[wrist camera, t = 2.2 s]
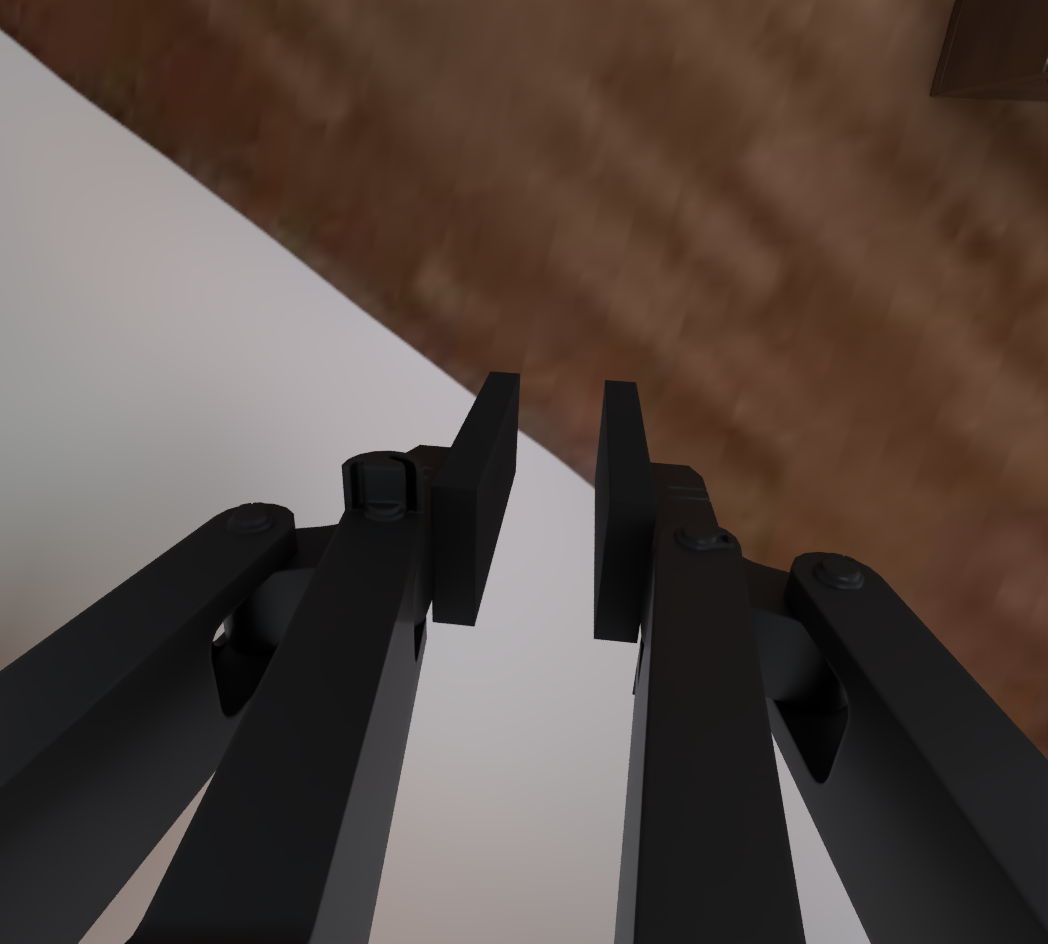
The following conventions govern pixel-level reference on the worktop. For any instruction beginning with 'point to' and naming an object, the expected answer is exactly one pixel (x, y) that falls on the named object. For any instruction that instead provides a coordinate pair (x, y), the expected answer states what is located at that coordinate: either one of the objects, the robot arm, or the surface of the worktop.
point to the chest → (995, 51)
